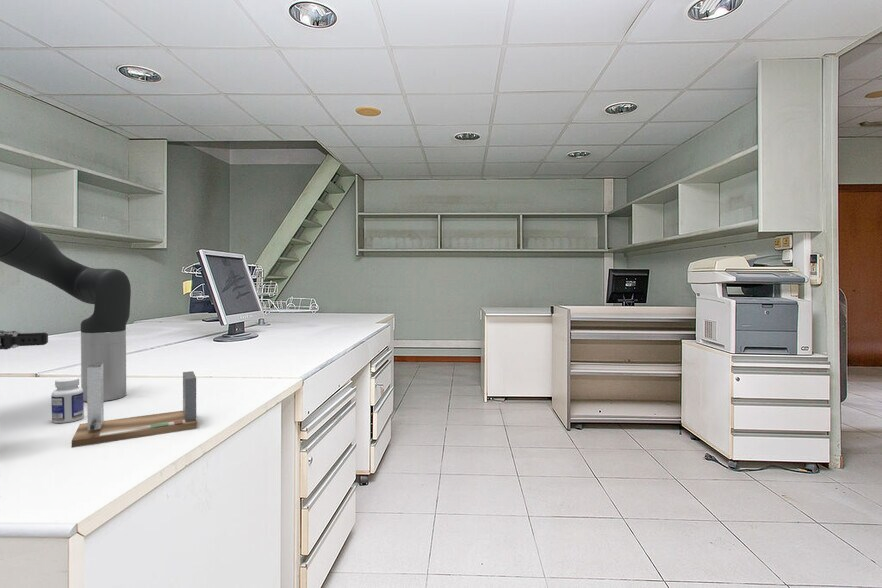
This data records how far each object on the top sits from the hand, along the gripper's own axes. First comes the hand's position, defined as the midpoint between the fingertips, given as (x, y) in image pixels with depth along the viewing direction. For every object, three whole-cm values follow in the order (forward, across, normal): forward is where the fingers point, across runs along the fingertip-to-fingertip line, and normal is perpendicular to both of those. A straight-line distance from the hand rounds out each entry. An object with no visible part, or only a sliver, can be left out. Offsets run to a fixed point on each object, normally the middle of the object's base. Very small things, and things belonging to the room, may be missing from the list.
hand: (47, 338), depth 82 cm
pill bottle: (+1, +15, +20) cm, 25 cm away
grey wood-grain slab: (+23, 0, +18) cm, 29 cm away
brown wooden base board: (+14, 0, +19) cm, 24 cm away
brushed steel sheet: (+7, -1, +18) cm, 19 cm away
